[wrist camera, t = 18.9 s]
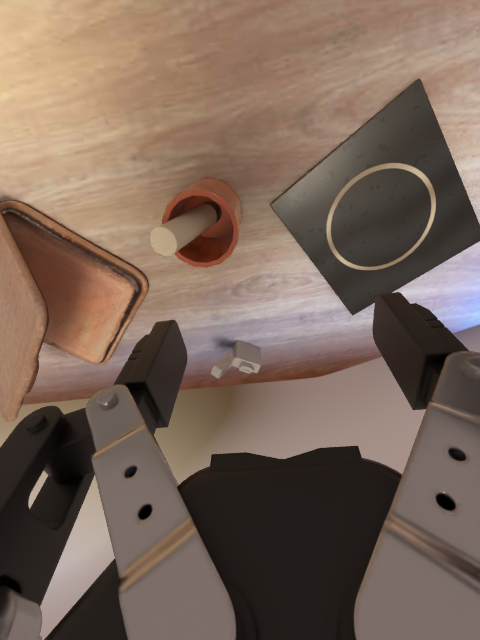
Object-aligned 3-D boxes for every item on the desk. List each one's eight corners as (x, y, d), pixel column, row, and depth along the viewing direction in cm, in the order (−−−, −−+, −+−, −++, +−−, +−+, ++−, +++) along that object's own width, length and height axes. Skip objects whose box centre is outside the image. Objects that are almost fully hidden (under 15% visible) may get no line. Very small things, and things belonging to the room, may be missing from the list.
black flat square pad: (270, 204, 35) (270, 205, 34) (417, 79, 28) (420, 78, 28) (351, 313, 43) (352, 316, 42) (482, 236, 36) (485, 238, 35)
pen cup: (169, 206, 36) (146, 226, 28) (212, 163, 33) (200, 171, 25) (210, 251, 38) (200, 280, 31) (253, 214, 36) (253, 236, 28)
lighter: (260, 347, 47) (261, 383, 40) (256, 355, 48) (257, 391, 41) (219, 334, 46) (213, 368, 39) (216, 342, 47) (209, 377, 40)
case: (0, 185, 35) (-159, 216, 21) (156, 277, 41) (108, 347, 27) (-23, 304, 44) (-143, 377, 31) (106, 365, 50) (53, 449, 37)
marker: (196, 210, 35) (144, 238, 25) (211, 196, 34) (161, 220, 24) (210, 228, 36) (164, 261, 26) (225, 215, 34) (182, 245, 25)
